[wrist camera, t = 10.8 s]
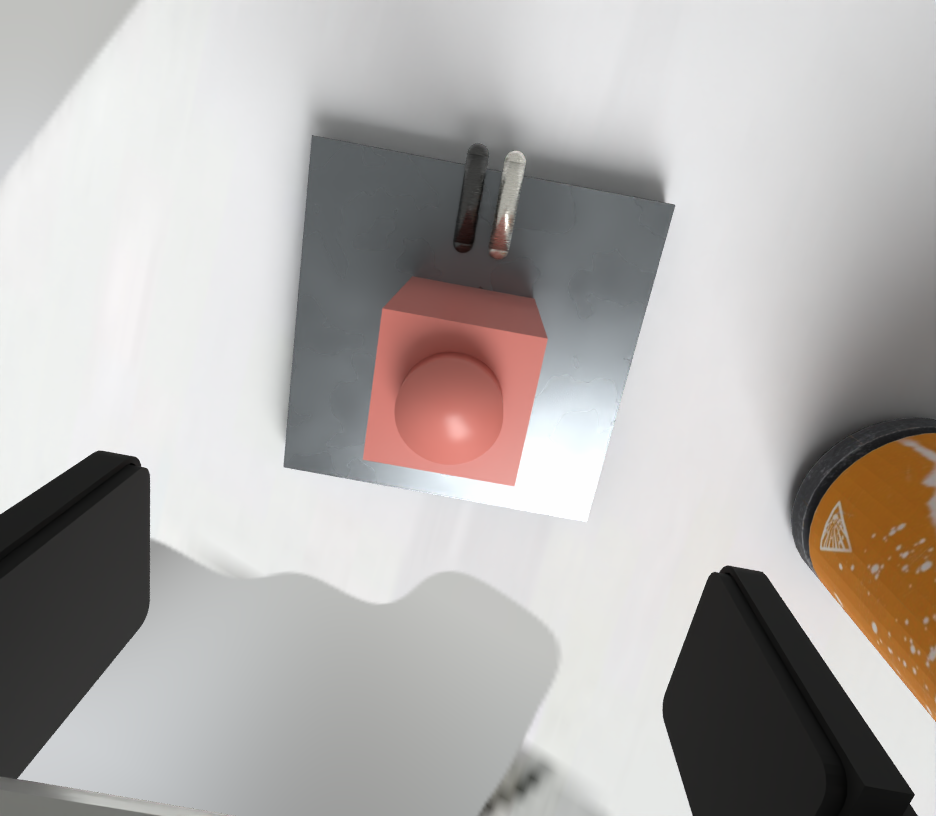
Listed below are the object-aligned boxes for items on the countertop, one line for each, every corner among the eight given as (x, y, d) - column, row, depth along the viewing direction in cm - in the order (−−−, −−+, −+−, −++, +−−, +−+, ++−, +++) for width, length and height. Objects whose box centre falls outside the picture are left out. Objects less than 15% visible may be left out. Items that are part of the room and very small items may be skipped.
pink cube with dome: (412, 276, 25) (374, 316, 17) (534, 298, 25) (551, 348, 17) (395, 392, 27) (354, 475, 19) (510, 413, 27) (515, 504, 19)
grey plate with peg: (324, 116, 25) (273, 95, 19) (670, 182, 25) (722, 182, 19) (293, 453, 30) (245, 516, 24) (582, 506, 30) (602, 580, 24)
